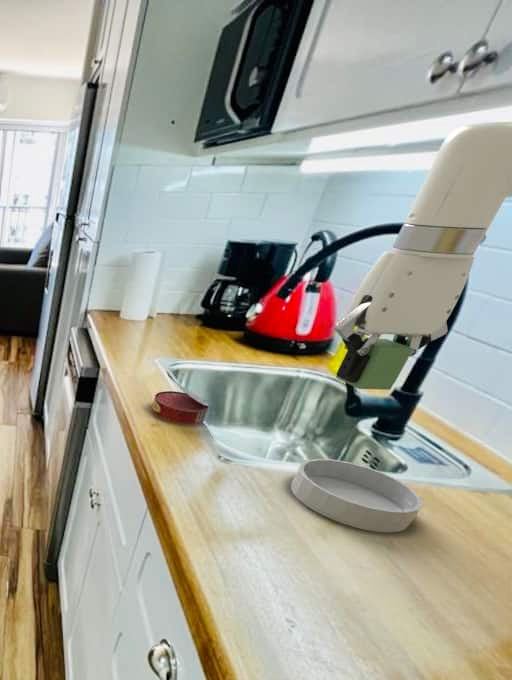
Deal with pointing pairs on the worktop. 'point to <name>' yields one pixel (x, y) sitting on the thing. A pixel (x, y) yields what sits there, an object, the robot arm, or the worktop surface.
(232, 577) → the worktop surface
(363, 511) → the basin
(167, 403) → the canned food
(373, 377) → the green block
